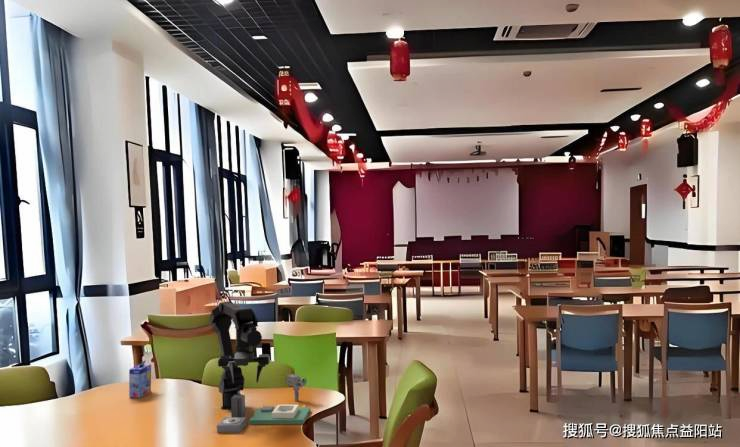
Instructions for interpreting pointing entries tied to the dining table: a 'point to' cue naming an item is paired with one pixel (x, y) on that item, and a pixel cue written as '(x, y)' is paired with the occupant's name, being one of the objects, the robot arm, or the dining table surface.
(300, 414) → the board
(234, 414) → the plug
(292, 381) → the mechanical component
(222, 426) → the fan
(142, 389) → the ink cartridge box
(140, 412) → the dining table surface
